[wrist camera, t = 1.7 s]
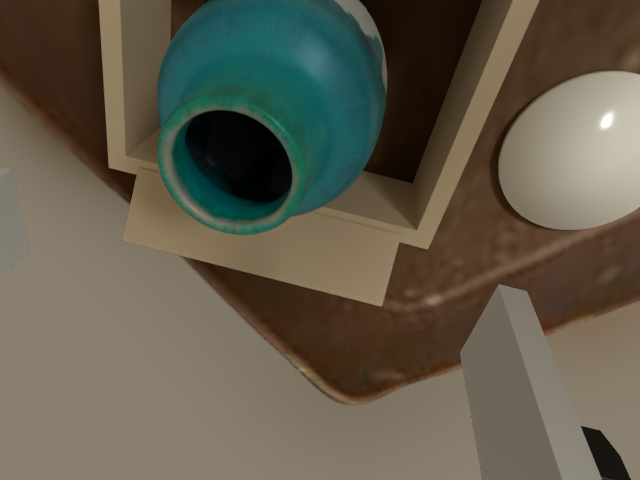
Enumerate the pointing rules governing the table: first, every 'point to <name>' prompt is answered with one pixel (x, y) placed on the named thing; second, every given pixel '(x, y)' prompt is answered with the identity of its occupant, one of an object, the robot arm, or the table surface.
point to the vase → (268, 109)
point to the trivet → (576, 152)
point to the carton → (326, 222)
